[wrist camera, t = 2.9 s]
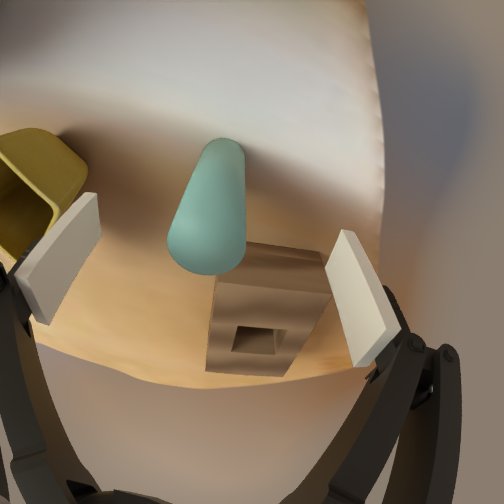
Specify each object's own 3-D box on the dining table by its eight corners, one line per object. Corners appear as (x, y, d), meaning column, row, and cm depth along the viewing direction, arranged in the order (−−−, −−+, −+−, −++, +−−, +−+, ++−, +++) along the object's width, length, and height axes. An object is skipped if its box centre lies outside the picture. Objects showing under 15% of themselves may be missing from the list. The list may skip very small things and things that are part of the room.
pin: (204, 135, 20) (168, 205, 11) (248, 141, 21) (253, 217, 12) (199, 175, 23) (167, 269, 13) (240, 181, 23) (239, 279, 14)
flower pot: (52, 106, 17) (-15, 137, 10) (113, 160, 21) (60, 211, 14) (22, 173, 20) (-31, 218, 13) (74, 219, 25) (32, 277, 18)
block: (221, 238, 27) (217, 281, 22) (318, 252, 28) (332, 294, 23) (208, 333, 36) (205, 371, 32) (279, 339, 38) (283, 376, 33)
